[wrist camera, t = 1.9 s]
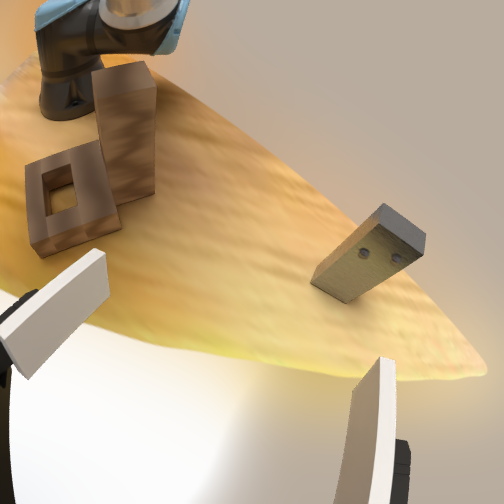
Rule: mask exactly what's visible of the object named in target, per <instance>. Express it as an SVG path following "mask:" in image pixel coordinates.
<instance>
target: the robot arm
mask: <svg viewBox="0 0 504 504" xmlns="http://www.w3.org/2000/svg"><path fill="white" fill-rule="evenodd" d="M189 2H190V0H48V1H47V2H45V3H44V4H42V5H41V6H40V7H39V8H38V9H37V11H36V14H35V30H34V31H35V32H36V40H37V47H38V54H39V60H40V66H41V71H42V82H41V93H40V96H39V105H40V109H41V112H42V114H43V115H44V116H45V117H46V118H48V119H52V120H68V119H73V118H77V117H80V116H83V115H85V114H87V113H89V112H91V111H93V110H95V104H94V95H93V85H92V74H91V72H92V71H96V70H100V69H105V67H104V65H103V63H102V60H101V56H100V55H102V54H147V55H151V56H154V55H168V54H171V53H172V52H174V50H175V49H176V46H177V43H178V40H179V36H180V32H181V29H182V25H183V22H184V19H185V16H186V12H187V9H188V6H189ZM108 297H110V290H109V282H108V273H107V263H106V253H104V252H102V251H100V250H98V249H96V248H94V249H92V250H91V251H90V252H88V253H87V254H86V255H84V256H83V257H82V258H80V259H79V260H78V261H76V262H75V263H74V264H72V265H71V266H70V267H68V268H67V269H66V270H65V271H63V272H62V273H61V274H59V275H58V276H57V277H56V278H54V279H53V280H52V281H51V282H49V283H48V284H47V285H46V286H44V287H43V288H42V289H41V290H40V291H39V290H37V289H35V290H32V291H30V292H28V293H26V294H25V295H24V296H22V297H21V298H20V299H19V301H17V302H15V303H14V304H13V306H11V307H9V308H8V309H7V310H6V311H5V312H4V313H3V314H1V315H0V504H16V503H15V497H14V490H13V482H12V474H11V461H10V446H9V445H10V444H9V406H10V387H11V374H12V369H11V365H12V364H14V365H15V367H16V368H17V370H18V371H19V372H20V373H21V374H22V375H23V376H24V377H25V378H26V379H27V380H29V379H30V377H31V376H32V375H33V374H34V373H35V372H36V371H37V370H38V369H39V368H40V366H41V365H42V364H43V363H44V362H45V361H46V360H47V359H48V358H49V357H50V356H51V355H52V354H53V353H54V352H55V351H56V349H58V347H59V346H60V345H61V344H62V343H63V342H64V341H65V340H66V339H67V338H68V337H69V336H70V335H71V334H72V333H73V332H74V331H75V330H76V329H77V328H78V327H79V326H80V325H81V324H82V323H83V322H84V321H85V320H86V319H87V318H88V317H89V316H90V315H91V314H92V313H93V312H94V311H95V310H96V309H97V308H98V307H99V306H100V305H101V304H102V303H103V302H104V301H105V300H106V299H107V298H108ZM395 432H396V367H395V361H394V360H391V359H387V358H384V357H381V356H380V357H379V358H378V360H377V361H376V362H375V364H374V365H373V366H372V367H371V369H370V370H369V371H368V373H367V374H366V375H365V376H364V378H363V379H362V380H361V381H360V382H359V384H358V385H357V386H356V387H355V388H354V390H353V391H352V399H351V407H350V415H349V422H348V429H347V436H346V443H345V448H344V454H343V460H342V465H341V470H340V476H339V481H338V486H337V490H336V494H335V499H334V503H333V504H407V502H408V492H409V480H410V477H409V475H410V464H411V451H410V449H409V445H408V442H407V441H405V440H399V439H395V434H396V433H395Z"/></svg>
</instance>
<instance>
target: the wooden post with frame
mask: <svg viewBox="0 0 504 504" xmlns="http://www.w3.org/2000/svg"><path fill="white" fill-rule="evenodd" d="M91 74H92V85H93V95H94V104H95V112H96V120H97V127H98V134H99V140H100V145H99V141H98V140H96V141H93V142H89V143H86V144H83V145H80V146H77V147H74V148H71V149H68V150H65V151H62V152H59V153H57V154H54V155H51V156H48V157H46V158H43V159H41V160H38V161H35V162H33V163H30V164H28V165H26V166H25V190H26V207H27V220H28V230H29V238H30V245H31V246H32V248H33V249H34V250H35V251H36V253H37V254H38V255H39V256H40V258H41V259H42V258H44V257H47V256H49V255H52V254H54V253H57V252H59V251H62V250H65V249H67V248H70V247H72V246H75V245H78V244H80V243H83V242H86V241H89V240H91V239H94V238H97V237H100V236H102V235H105V234H108V233H111V232H114V231H117V230H120V229H121V225H120V220H119V216H118V212H117V208H116V206H117V205H120V204H123V203H126V202H129V201H133V200H136V199H139V198H142V197H145V196H149V195H152V194H155V184H154V152H155V116H156V96H157V85H156V83H155V81H154V79H153V77H152V75H151V73H150V71H149V69H148V67H147V66H146V64H145V62H144V61H139V62H133V63H128V64H123V65H118V66H114V67H109V68H105V69H100V70H96V71H92V72H91ZM100 146H101V149H100ZM101 152H102V153H101ZM72 182H74V188H75V193H76V198H77V204H78V205H77V206H74V207H71V208H69V209H66V210H63V211H61V212H58V213H55V214H53V215H52V212H51V204H50V196H49V191H50V190H53V189H55V188H58V187H61V186H63V185H66V184H69V183H72Z"/></svg>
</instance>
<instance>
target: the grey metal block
mask: <svg viewBox="0 0 504 504" xmlns="http://www.w3.org/2000/svg"><path fill="white" fill-rule="evenodd" d="M425 238H426V233H424V232H423V231H422V230H420V229H419V228H418V227H416V226H415V225H414V224H412V223H411V222H410V221H408V220H407V219H406V218H404V217H403V216H402V215H400V214H398V212H396V211H395V210H393V209H392V208H391V207H389V206H388V205H386V204H385V203H383V204H382V205H381V206H380V207H379V208H378V209H377V210H376V211H375V212H374V213H373V214H372V215H371V216H370V217H369V218H368V219H367V220H366V221H365V222H364V223H362V224H361V225H360V226H359V227H358V228H357V229H356V230H355V231H354V232H353V233H352V234H351V235H350V236H349V237H348V238H347V239H346V240H345V241H344V242H343V243H342V244H341V245H339V246H338V247H337V248H336V249H335V250H334V251H333V252H332V253H331V254H330V255H329V256H328V257H327V258H326V259H324V260H323V261H322V262H321V263H320V264H319V265H318V266H317V268H316V271H315V273H314V276H313V278H312V280H311V284H313V285H315V286H317V287H318V288H320V289H322V290H323V291H325V292H327V293H328V294H330V295H332V296H334V297H335V298H337V299H339V300H340V301H342V302H344V303H345V304H346V303H348V302H350V301H351V300H353V299H355V298H356V297H358V296H360V295H361V294H363V293H365V292H367V291H368V290H370V289H372V288H373V287H375V286H376V285H378V284H380V283H381V282H383V281H385V280H386V279H388V278H389V277H391V276H393V275H394V274H396V273H397V272H399V271H400V270H402V269H404V268H405V267H407V266H408V265H410V264H411V263H413V262H414V261H416V260H417V259H418V258H420V257H422V256H423V255H424V248H425Z"/></svg>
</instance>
